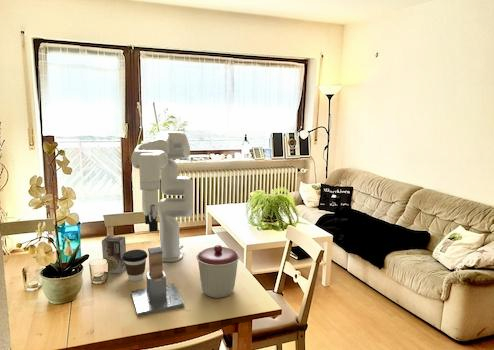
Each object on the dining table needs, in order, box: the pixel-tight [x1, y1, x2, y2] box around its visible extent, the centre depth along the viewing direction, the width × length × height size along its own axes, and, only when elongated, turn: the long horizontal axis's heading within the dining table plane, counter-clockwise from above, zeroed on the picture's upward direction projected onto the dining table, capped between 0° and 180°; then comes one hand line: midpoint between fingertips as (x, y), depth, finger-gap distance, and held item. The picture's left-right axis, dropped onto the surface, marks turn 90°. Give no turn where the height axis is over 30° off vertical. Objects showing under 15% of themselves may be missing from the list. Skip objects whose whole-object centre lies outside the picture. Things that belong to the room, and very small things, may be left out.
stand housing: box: [130, 270, 185, 318], centre depth 155 cm, size 18×18×12 cm
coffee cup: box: [122, 249, 148, 282], centre depth 174 cm, size 11×11×12 cm
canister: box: [195, 244, 241, 299], centre depth 162 cm, size 18×18×21 cm
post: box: [147, 246, 164, 278], centre depth 154 cm, size 5×5×20 cm
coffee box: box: [101, 235, 127, 274], centre depth 182 cm, size 9×6×16 cm
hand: (151, 227), depth 151 cm, fingers open, 9 cm apart
